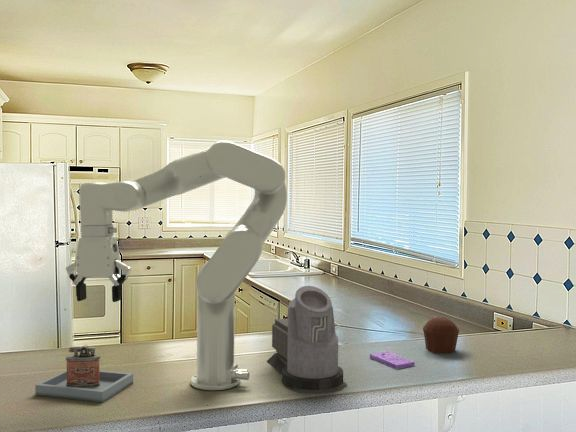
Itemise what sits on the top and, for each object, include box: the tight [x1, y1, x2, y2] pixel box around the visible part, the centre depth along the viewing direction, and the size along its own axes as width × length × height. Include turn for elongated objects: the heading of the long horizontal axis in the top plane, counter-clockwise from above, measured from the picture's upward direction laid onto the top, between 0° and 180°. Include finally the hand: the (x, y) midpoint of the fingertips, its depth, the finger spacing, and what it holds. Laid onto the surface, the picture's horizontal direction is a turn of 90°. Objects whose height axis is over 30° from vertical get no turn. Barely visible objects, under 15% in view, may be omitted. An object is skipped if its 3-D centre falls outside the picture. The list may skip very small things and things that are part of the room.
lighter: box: [65, 344, 101, 388], centre depth 140 cm, size 8×3×10 cm, turn 98°
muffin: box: [422, 316, 460, 355], centre depth 179 cm, size 12×11×10 cm
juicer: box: [266, 285, 348, 395], centre depth 152 cm, size 30×16×24 cm, turn 21°
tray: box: [34, 369, 134, 404], centre depth 139 cm, size 18×14×2 cm
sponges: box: [369, 350, 416, 370], centre depth 166 cm, size 7×13×2 cm, turn 30°
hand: (99, 300), depth 141 cm, fingers open, 9 cm apart
